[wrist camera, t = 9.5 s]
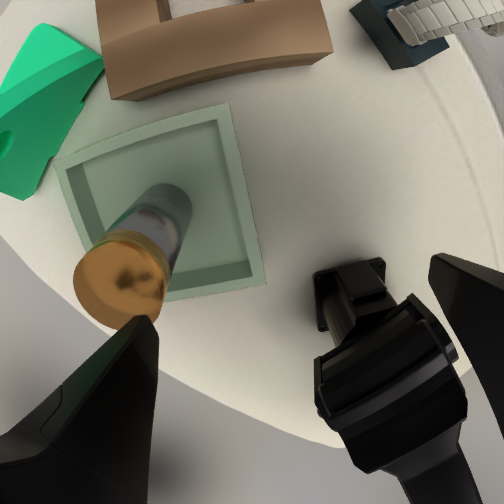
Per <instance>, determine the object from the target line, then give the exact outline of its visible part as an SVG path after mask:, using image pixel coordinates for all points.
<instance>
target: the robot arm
mask: <svg viewBox="0 0 504 504" xmlns="http://www.w3.org/2000/svg"><path fill="white" fill-rule="evenodd" d="M380 263H381V265H379V264H380ZM378 265H379V266H378ZM385 270H386V262H385V261H384V260H383V259H382V258H378V259H373V260H369V261H361V262H357V263H353V264H348V265H344V266H339V267H338V268H333V269H329V270H324V271H320V272H316V273H315V274H314V275H313V285H314V296H315V308H316V321H317V328H318V331H319V332H324V331H330V333H331V336H332V339H333V341H334V344H335V347H336V348H334V349H333V350H331V351H329V352H328V353H326V354H325V355H323V356H319V357H317V358H315V359H314V402H315V405H316V407H317V408H318V409H317V413H318V415H319V416H320V417H321V418H323V419H324V421H325V422H326V423H327V425H328V426H329V427H330V428H331V429H332V430H334V431H335V432H338V433H339V435H340V437H341V438H342V440H343V442H344V444H345V446H346V448H347V450H348V452H349V455H350V457H351V459H352V461H353V464H354V465H355V466H356V467H357V468H359V469H360V470H362V471H363V472H364V473H366V474H370V473H372V472H375V471H377V470H379V469H380V470H382V471H385V472H387V473H389V474H392V475H394V476H396V477H397V478H398V480H399V482H400V484H401V485H402V488H403V490H404V492H405V494H406V496H407V498H408V500H409V502H410V504H483V503H482V500H481V497H480V494H479V491H478V489H477V486H476V483H475V481H474V478H473V476H472V473H471V471H470V468H469V466H468V463H467V461H466V459H465V457H464V454H463V452H462V449H461V447H460V445H459V443H458V440H459V435H460V430H461V424H462V422H463V421H465V420H466V418H467V406H468V401H467V398H466V396H465V389H464V387H463V385H462V383H461V381H460V379H459V377H458V375H457V373H456V371H455V369H454V367H453V365H452V364H453V363H454V362H455V361H457V360H458V359H459V357H458V353H457V351H456V348H455V346H454V344H453V342H452V340H451V338H450V337H449V335H448V333H447V332H446V330H445V329H444V327H443V326H442V324H441V323H440V321H439V320H438V319H437V318H436V317H435V315H434V314H433V313H432V312H431V311H430V310H429V309H428V308H427V307H426V306H425V305H424V304H423V303H422V302H421V301H420V300H419V299H418V298H417V297H416V296H415V295H414V294H413V293H411V294H410V295H409V296H407V299H406V300H404V301H403V302H402V303H400V304H399V305H398V304H397V303H396V301H395V300H394V298H393V297H392V296H391V294H390V293H389V291H388V290H387V287H386V286H385ZM318 277H321V279H317V278H318ZM428 281H429V284H430V286H431V288H432V290H433V292H434V294H435V296H436V298H437V300H438V302H439V304H440V306H441V308H442V310H443V313H444V315H445V317H446V319H447V320H448V322H449V324H450V326H451V328H452V329H453V331H454V333H455V335H456V336H457V338H458V340H459V342H460V343H461V345H462V347H463V349H464V351H465V353H466V355H467V356H468V358H469V360H470V362H471V364H472V366H473V368H474V370H475V372H476V374H477V376H478V378H479V380H480V383H481V385H482V387H483V389H484V391H485V393H486V396H487V398H488V400H489V403H490V405H491V407H492V409H493V412H494V414H495V417H496V419H497V422H498V425H499V427H500V430H501V433H502V436H503V439H504V273H502V272H499V271H496V270H493V269H491V268H488V267H485V266H482V265H479V264H476V263H473V262H470V261H467V260H464V259H461V258H458V257H455V256H452V255H449V254H446V253H439V254H435V255H433V256H432V257H431V261H430V268H429V274H428ZM322 326H324V327H322ZM158 359H159V336H158V333H157V331H156V329H155V327H154V325H153V323H152V321H151V319H150V318H149V316H148V315H146V314H143V315H136V316H134V317H133V318H132V319H131V320H129V321H128V322H127V323H126V324H125V325H124V326H123V327H122V328H121V329H119V330H118V331H117V332H116V333H115V334H114V335H113V336H112V337H111V338H110V339H109V340H108V341H107V342H105V343H104V344H103V345H102V346H101V347H100V348H99V349H98V350H97V351H96V352H95V353H94V354H93V355H91V356H90V357H89V358H88V359H87V360H86V361H85V362H84V363H83V364H82V365H81V366H80V367H79V368H78V369H77V370H76V371H74V372H73V374H71V375H70V376H69V377H68V378H67V379H66V380H65V381H64V382H63V383H62V385H60V386H59V387H58V388H57V389H56V390H55V391H54V392H53V393H51V395H49V396H48V397H47V398H46V399H45V400H44V401H43V402H42V403H41V404H40V405H39V406H37V407H36V408H35V409H34V410H33V411H31V412H30V413H29V414H28V415H27V416H26V417H24V418H23V419H22V420H21V421H20V422H19V423H17V424H16V425H15V426H14V427H13V428H12V429H11V430H9V431H8V432H7V433H5V434H3V435H1V436H0V504H147V496H148V476H149V460H150V448H151V437H152V427H153V418H154V409H155V401H156V393H157V384H158Z"/></svg>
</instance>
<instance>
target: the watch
mask: <svg viewBox="0 0 504 504" xmlns="http://www.w3.org/2000/svg"><path fill="white" fill-rule="evenodd" d="M433 3H435V4H433ZM349 11H350V12H351V13H352V14H353V16H354V17H355V18H356V19H357V21H358V22H359V23H360V25H361V26H362V27H363V28H364V30H365V31H366V32H367V34H368V35H369V36H370V38H371V39H372V41H373V42H374V43H375V45H376V46H377V48H378V49H379V51H380V52H381V54H382V55H383V57H384V58H385V60H386V61H387V63H388V64H389V66H390V67H391V69H392V70H396V69H402V68H408V67H414V66H417V65H418V64H420V63H422V62H424V61H425V60H427V59H429V58H431V57H433V56H434V55H436V54H438V53H440V52H442V51H444V50H445V49H447V48H449V47H450V46H449V45H448V43H447V41H446V39H445V38H444V36H446V35H450V34H452V33H453V34H454V33H458V32H463V31H467V30H472V29H476V28H481V29H482V30H483V31H484V32H486V33H487V34H488V35H490V36H494V37H498V36H502V35H504V0H362V1H361V2H359V3H358V4H357V5H355V6H354V7H353V8H352V9H350V10H349ZM464 21H465V22H464ZM457 22H458V23H457ZM464 23H465V24H464ZM449 25H450V26H449ZM448 26H449V27H448ZM449 28H450V29H449Z"/></svg>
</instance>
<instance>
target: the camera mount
mask: <svg viewBox="0 0 504 504" xmlns="http://www.w3.org/2000/svg"><path fill="white" fill-rule="evenodd" d="M103 68H104V61H103V57H102V56H101V55H99V54H98V53H96V52H95V51H93V50H92V49H90V48H89V47H87V46H86V45H84V44H83V43H81V42H80V41H78V40H76V39H75V38H73V37H72V36H70V35H69V34H67V33H65V32H64V31H62V30H60V29H59V28H57V27H55V26H52V25H49V24H46V23H41V24H39V25H37V26H36V27H35V28H34V29H33V30H32V31H31V33H30V34H29V36H28V37H27V39H26V41H25V42H24V44H23V46H22V47H21V49H20V51H19V52H18V54H17V56H16V58H15V59H14V61H13V63H12V65H11V67H10V69H9V70H8V72H7V74H6V76H5V78H4V80H3V82H2V85H1V87H0V192H2V193H5V194H7V195H10V196H12V197H14V198H17V199H19V200H22V201H24V200H25V199H27V198H29V197H30V196H32V195H34V192H35V190H36V187H37V185H38V182H39V180H40V178H41V175H42V173H43V171H44V169H45V167H46V164H47V162H48V160H49V158H50V157H52V156H55V155H56V154H57V152H58V150H59V148H60V146H61V144H62V143H63V141H64V139H65V137H66V135H67V133H68V132H69V130H70V128H71V126H72V125H73V123H74V121H75V119H76V118H77V116H78V114H79V113H80V111H81V110H82V108H83V106H84V105H85V103H84V102H82V101H81V100H82V99H83V97H84V96H85V94H86V93H87V91H88V89H89V88H90V87H91V85H92V84H93V82H94V81H95V79H96V78H97V76H98V75H99V74H100V72H101V71H102V70H103Z"/></svg>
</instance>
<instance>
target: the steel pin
mask: <svg viewBox="0 0 504 504" xmlns="http://www.w3.org/2000/svg"><path fill="white" fill-rule="evenodd" d="M192 215H193V208H192V203H191V201H190V199H189V197H188V195H187V194H186V193H185V192H184V191H183V190H182V189H180V188H179V187H177V186H175V185H172V184H168V183H160V184H156V185H153V186H151V187H150V188H148V189H147V190H146V191H145V192H144V193H143V194H142V195H141V196H140V197H139V198H138V199H137V200H136V201H135V202H134V203H133V204H132V205H131V206H130V207H129V208H128V209H127V210H126V211H125V212H124V213H123V214H122V215H121V216H120V217H119V218H118V219H117V220H116V221H115V222H114V223H113V224H112V225H111V227H110V228H109V229H108V230H107V231H106V232H105V233H104V234H103V235H102V236H101V237H100V239H99V240H98V241H97V242H96V243H95V244H94V245H93V246H92V248H91V249H90V250H89V251H88V252H87V253H86V254H85V256H84V257H83V258H82V259H81V260H80V261H79V263H78V264H77V266H76V268H75V271H74V276H73V284H74V290H75V293H76V296H77V298H78V300H79V302H80V303H81V305H82V306H83V308H84V309H85V310H86V311H87V312H88V313H89V315H91V316H92V317H93V318H94V319H95V320H97V321H98V322H100V323H101V324H103V325H105V326H107V327H110V328H112V329H116V330H119V329H121V328H122V327H123V326H124V325H125V324H126V323H127V322H128V321H129V320H131V319H132V318H133V317H134V316H136V315H143V314H146V315H148V316H149V318H150V319H151V321H152V323H154V322H155V320H156V319H157V318H158V316H159V314H160V311H161V307H162V304H163V301H164V298H165V295H166V292H167V288H168V285H169V282H170V279H171V276H172V273H173V270H174V267H175V264H176V261H177V258H178V256H179V253H180V250H181V247H182V244H183V241H184V239H185V236H186V233H187V230H188V228H189V225H190V222H191V219H192Z"/></svg>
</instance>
